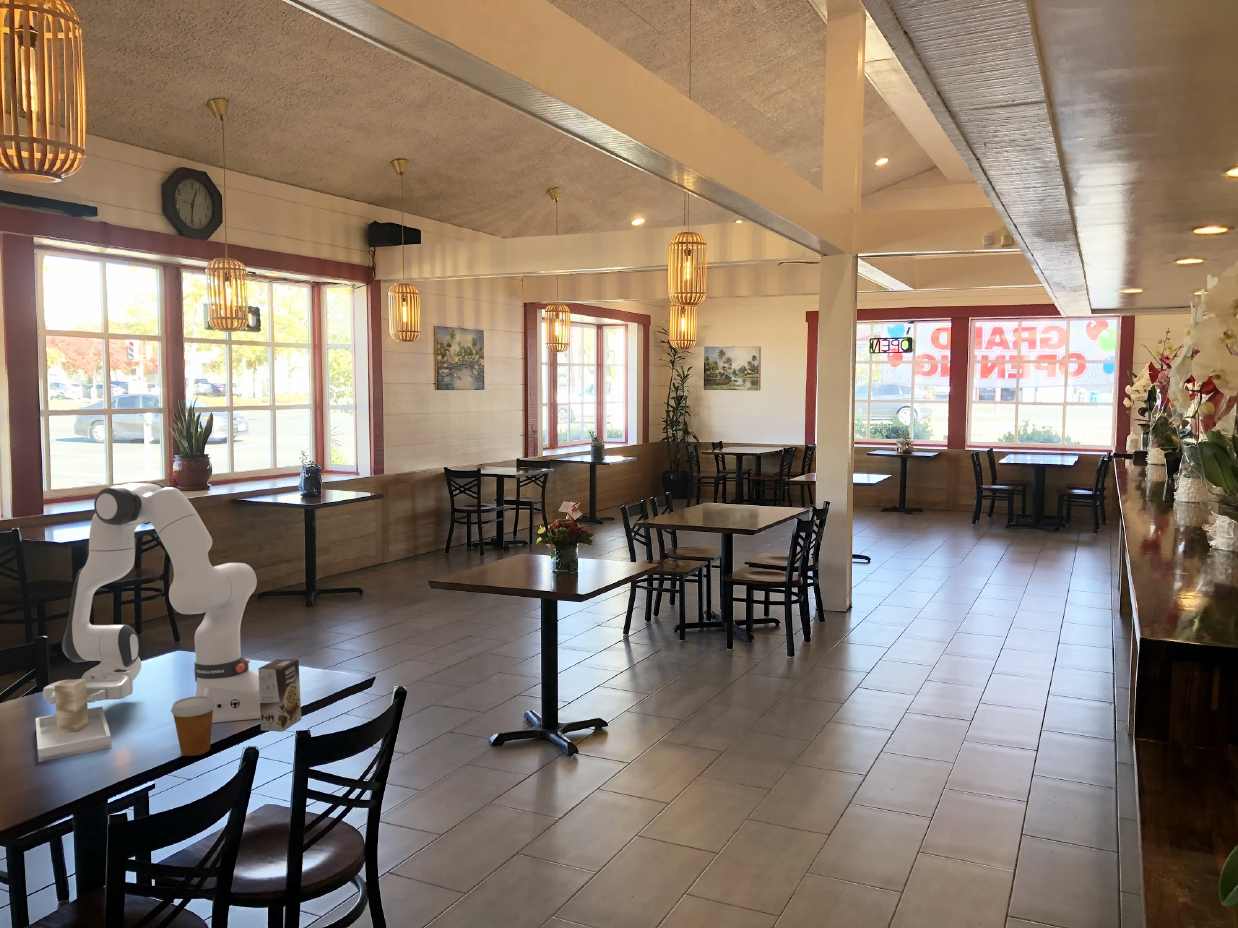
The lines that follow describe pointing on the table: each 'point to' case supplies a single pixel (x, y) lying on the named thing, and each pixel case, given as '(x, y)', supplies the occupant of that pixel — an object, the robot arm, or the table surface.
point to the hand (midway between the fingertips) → (70, 699)
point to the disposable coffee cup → (193, 724)
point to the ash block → (71, 705)
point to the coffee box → (279, 694)
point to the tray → (72, 736)
